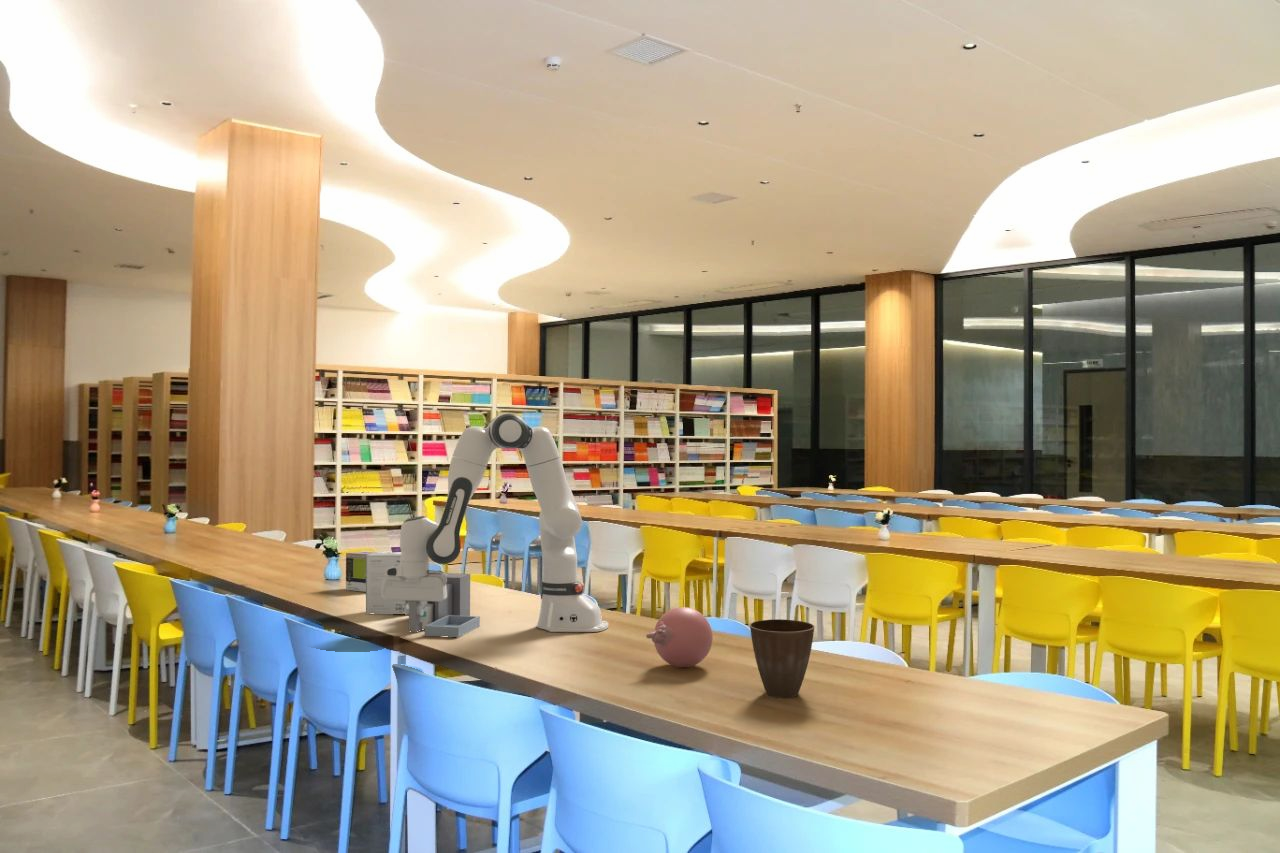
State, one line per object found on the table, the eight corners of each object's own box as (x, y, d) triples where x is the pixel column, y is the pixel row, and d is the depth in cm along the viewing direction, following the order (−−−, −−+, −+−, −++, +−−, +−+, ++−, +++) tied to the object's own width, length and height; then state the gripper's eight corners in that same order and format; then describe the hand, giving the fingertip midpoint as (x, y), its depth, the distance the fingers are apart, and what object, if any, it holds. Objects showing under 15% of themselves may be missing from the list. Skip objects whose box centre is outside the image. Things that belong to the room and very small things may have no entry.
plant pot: (806, 705, 221) (806, 633, 221) (742, 698, 227) (742, 628, 227) (819, 689, 235) (820, 622, 235) (758, 683, 240) (759, 617, 241)
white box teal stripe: (437, 624, 313) (437, 593, 313) (420, 633, 300) (420, 600, 300) (422, 624, 314) (422, 592, 314) (404, 632, 301) (405, 599, 301)
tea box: (391, 590, 384) (391, 552, 385) (371, 593, 376) (372, 554, 376) (364, 586, 392) (364, 549, 393) (344, 590, 384) (344, 552, 384)
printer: (470, 615, 329) (470, 573, 330) (445, 628, 308) (445, 583, 308) (430, 614, 332) (430, 572, 332) (403, 626, 310) (403, 581, 310)
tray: (479, 626, 311) (479, 616, 311) (458, 638, 293) (458, 627, 293) (447, 625, 313) (447, 615, 313) (424, 636, 295) (424, 626, 295)
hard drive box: (417, 611, 338) (417, 553, 338) (409, 615, 330) (410, 555, 330) (373, 610, 339) (373, 552, 339) (364, 614, 331) (365, 554, 332)
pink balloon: (627, 667, 257) (627, 608, 257) (686, 657, 269) (687, 600, 269) (663, 679, 244) (664, 616, 244) (724, 668, 256) (724, 608, 256)
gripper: (450, 569, 303) (450, 614, 303) (388, 567, 307) (387, 612, 307) (442, 572, 297) (442, 618, 297) (379, 570, 301) (378, 615, 301)
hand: (414, 615), depth 302 cm, fingers closed on white box teal stripe, 2 cm apart
